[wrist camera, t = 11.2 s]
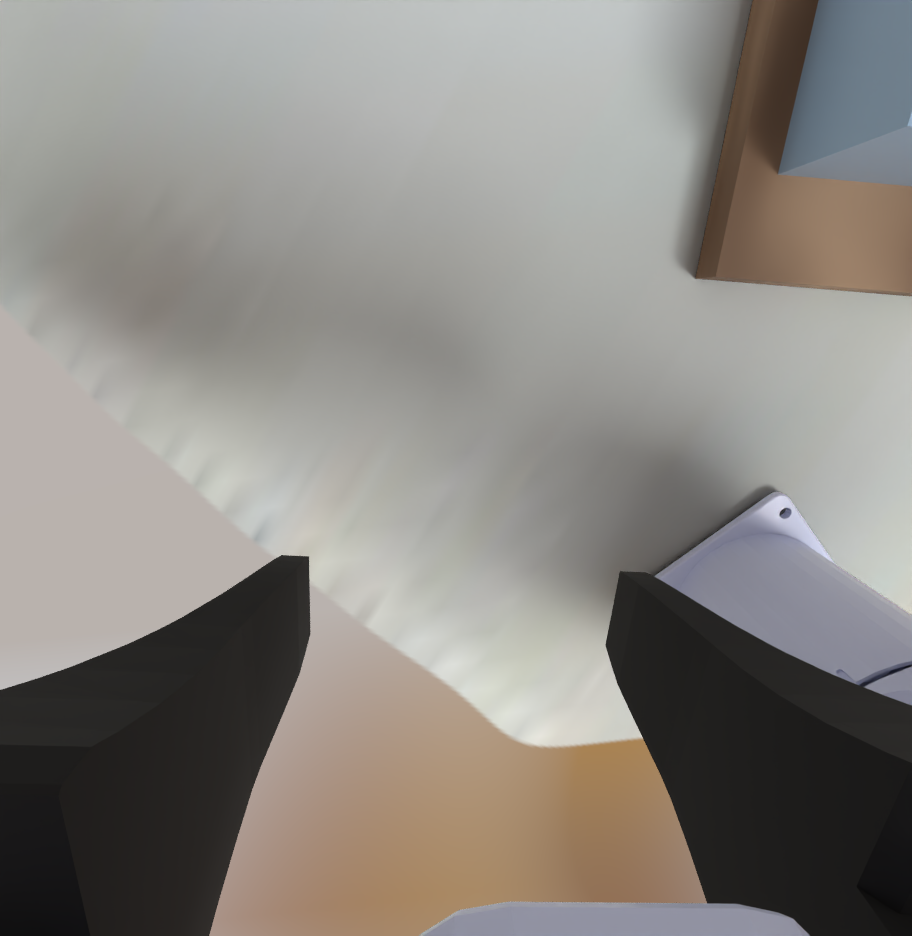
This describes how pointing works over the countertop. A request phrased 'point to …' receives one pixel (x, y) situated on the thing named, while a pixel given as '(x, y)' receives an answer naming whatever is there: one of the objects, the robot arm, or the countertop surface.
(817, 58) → the collar
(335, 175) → the countertop surface
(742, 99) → the stub board
